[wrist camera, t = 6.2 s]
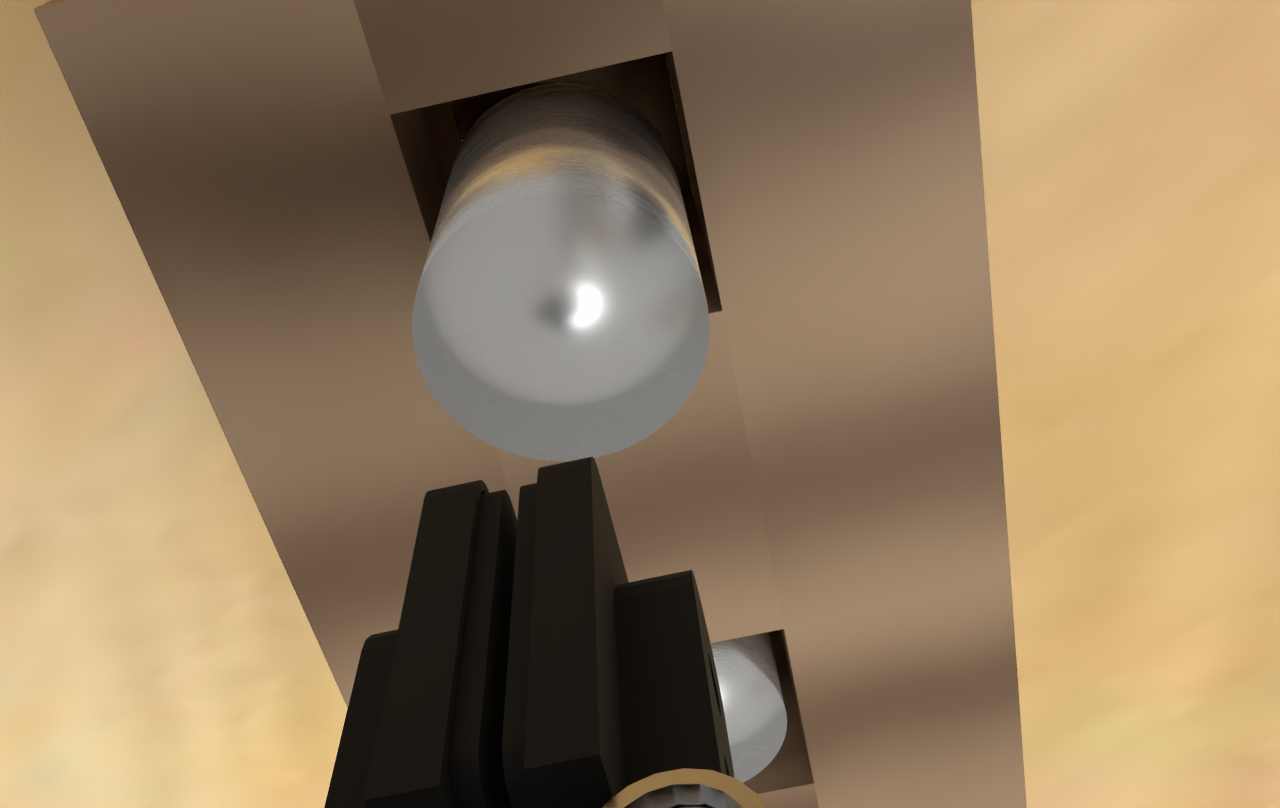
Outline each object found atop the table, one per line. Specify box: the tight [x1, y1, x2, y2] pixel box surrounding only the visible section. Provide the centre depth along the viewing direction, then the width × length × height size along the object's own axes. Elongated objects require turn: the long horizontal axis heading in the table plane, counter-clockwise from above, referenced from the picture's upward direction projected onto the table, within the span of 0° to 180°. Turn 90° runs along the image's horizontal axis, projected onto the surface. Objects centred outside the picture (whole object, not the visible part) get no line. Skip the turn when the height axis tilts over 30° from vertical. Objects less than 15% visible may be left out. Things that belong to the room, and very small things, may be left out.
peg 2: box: [711, 632, 787, 783], centre depth 28 cm, size 4×4×6 cm
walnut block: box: [34, 0, 1026, 808], centre depth 25 cm, size 22×14×6 cm, turn 12°
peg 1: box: [412, 83, 710, 461], centre depth 18 cm, size 4×4×6 cm
